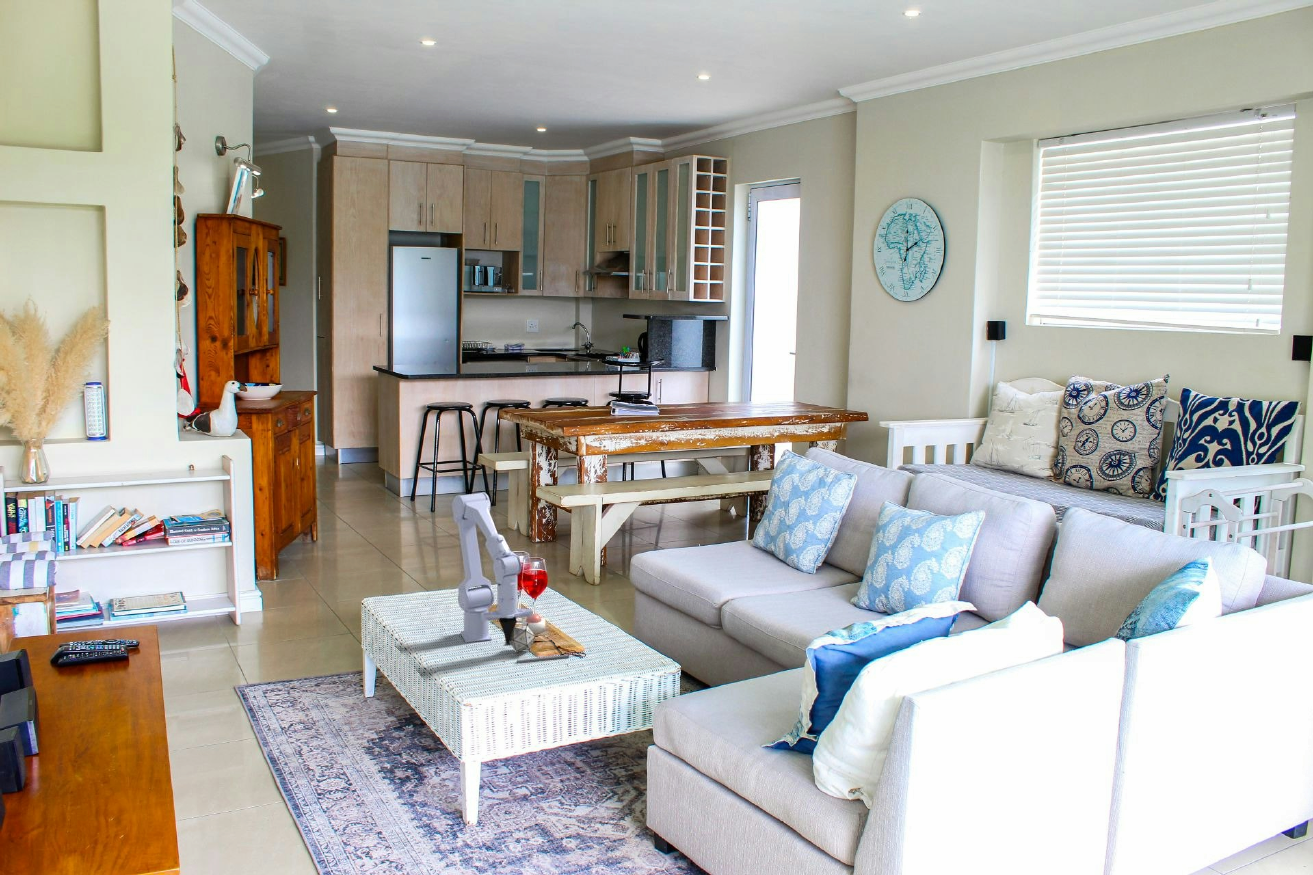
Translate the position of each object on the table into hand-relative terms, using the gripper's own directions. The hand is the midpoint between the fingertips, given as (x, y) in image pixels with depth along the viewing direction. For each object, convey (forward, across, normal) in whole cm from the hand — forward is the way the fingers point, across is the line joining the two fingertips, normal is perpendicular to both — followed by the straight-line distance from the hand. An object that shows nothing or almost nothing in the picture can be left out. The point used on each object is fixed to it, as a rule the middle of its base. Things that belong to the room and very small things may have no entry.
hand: (507, 642), depth 303 cm
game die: (+4, +4, +1) cm, 6 cm away
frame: (+3, +8, 0) cm, 9 cm away
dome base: (+3, +11, +14) cm, 18 cm away
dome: (+2, +11, +14) cm, 18 cm away
